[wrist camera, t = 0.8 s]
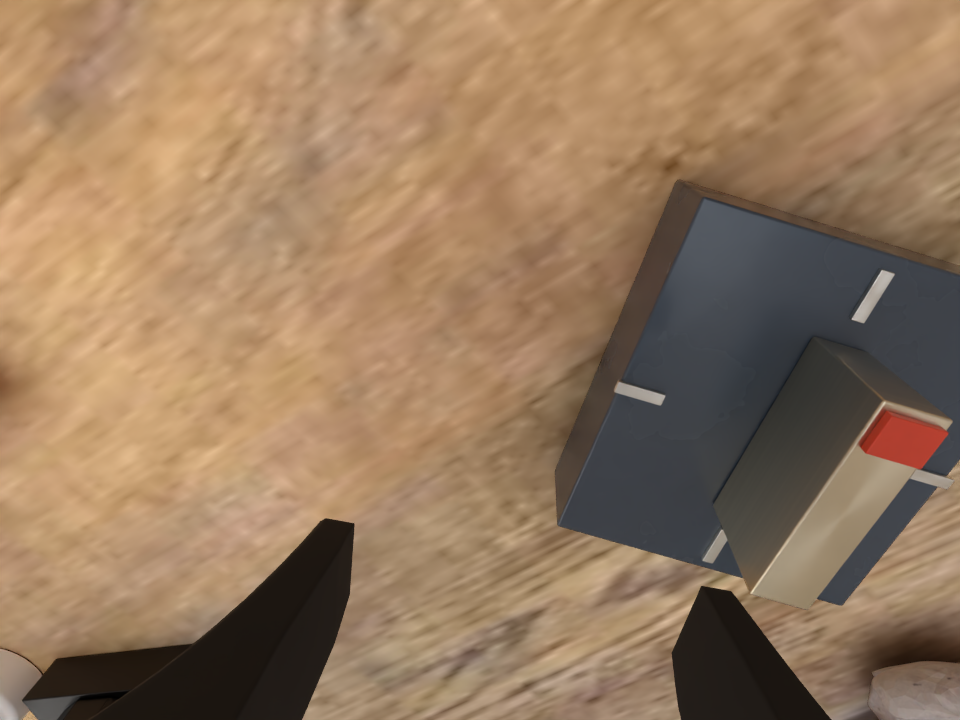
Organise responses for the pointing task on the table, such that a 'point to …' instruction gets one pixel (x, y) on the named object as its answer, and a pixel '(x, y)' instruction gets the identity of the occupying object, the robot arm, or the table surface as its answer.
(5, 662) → the decorative finial
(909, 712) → the fossil
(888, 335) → the panel
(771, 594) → the silver block
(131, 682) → the button box
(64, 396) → the table surface
